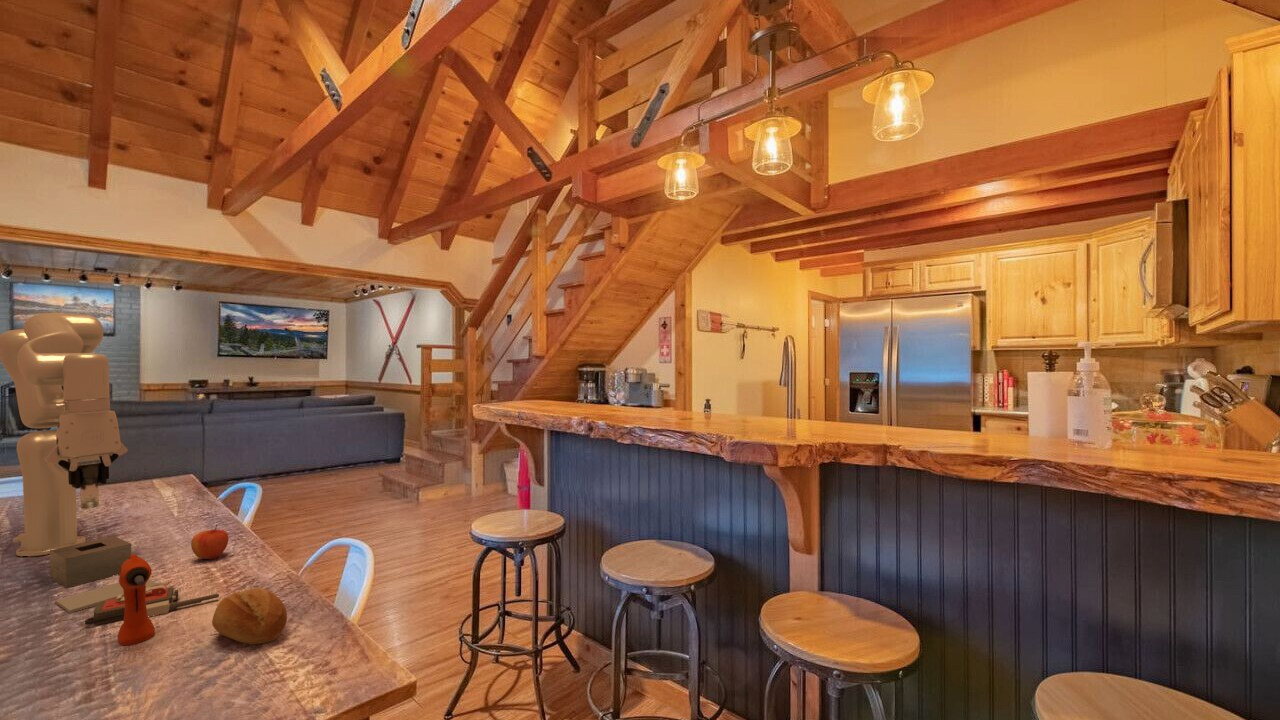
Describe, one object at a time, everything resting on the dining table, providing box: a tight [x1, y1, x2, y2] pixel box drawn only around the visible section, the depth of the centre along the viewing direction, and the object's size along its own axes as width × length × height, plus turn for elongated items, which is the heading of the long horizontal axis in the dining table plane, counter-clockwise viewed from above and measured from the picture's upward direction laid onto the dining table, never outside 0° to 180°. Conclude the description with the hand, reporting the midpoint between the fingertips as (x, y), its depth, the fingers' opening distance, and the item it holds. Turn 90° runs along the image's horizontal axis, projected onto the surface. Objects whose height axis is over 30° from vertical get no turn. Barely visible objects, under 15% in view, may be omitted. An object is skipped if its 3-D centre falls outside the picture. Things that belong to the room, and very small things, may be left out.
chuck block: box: [49, 535, 132, 589], centre depth 128 cm, size 11×11×6 cm
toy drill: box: [117, 553, 156, 646], centre depth 96 cm, size 5×19×15 cm, turn 46°
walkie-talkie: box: [84, 584, 220, 626], centre depth 110 cm, size 9×4×20 cm
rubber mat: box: [54, 578, 160, 614], centre depth 117 cm, size 9×14×1 cm, turn 149°
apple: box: [190, 524, 229, 560], centre depth 137 cm, size 7×7×8 cm
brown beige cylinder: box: [77, 462, 101, 510], centre depth 127 cm, size 4×4×10 cm
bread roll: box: [211, 587, 288, 645], centre depth 99 cm, size 10×15×8 cm, turn 63°
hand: (89, 484), depth 128 cm, fingers closed on brown beige cylinder, 3 cm apart
